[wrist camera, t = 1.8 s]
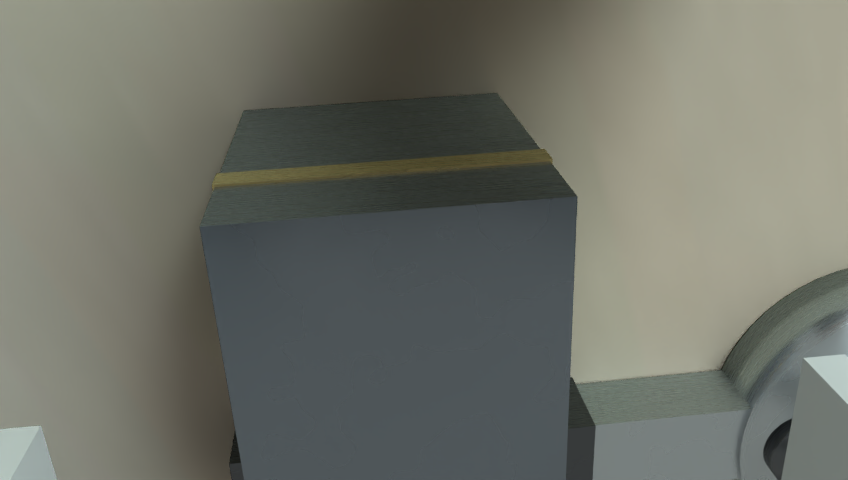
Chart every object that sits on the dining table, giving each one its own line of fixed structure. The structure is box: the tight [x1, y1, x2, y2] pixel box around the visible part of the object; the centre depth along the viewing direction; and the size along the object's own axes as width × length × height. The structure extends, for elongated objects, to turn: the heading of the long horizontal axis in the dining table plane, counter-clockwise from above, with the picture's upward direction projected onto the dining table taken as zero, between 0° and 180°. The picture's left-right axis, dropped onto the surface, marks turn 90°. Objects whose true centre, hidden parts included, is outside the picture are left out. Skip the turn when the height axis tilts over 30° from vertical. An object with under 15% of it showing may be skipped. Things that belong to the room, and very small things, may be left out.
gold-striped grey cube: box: [200, 93, 577, 480], centre depth 20 cm, size 7×7×8 cm
